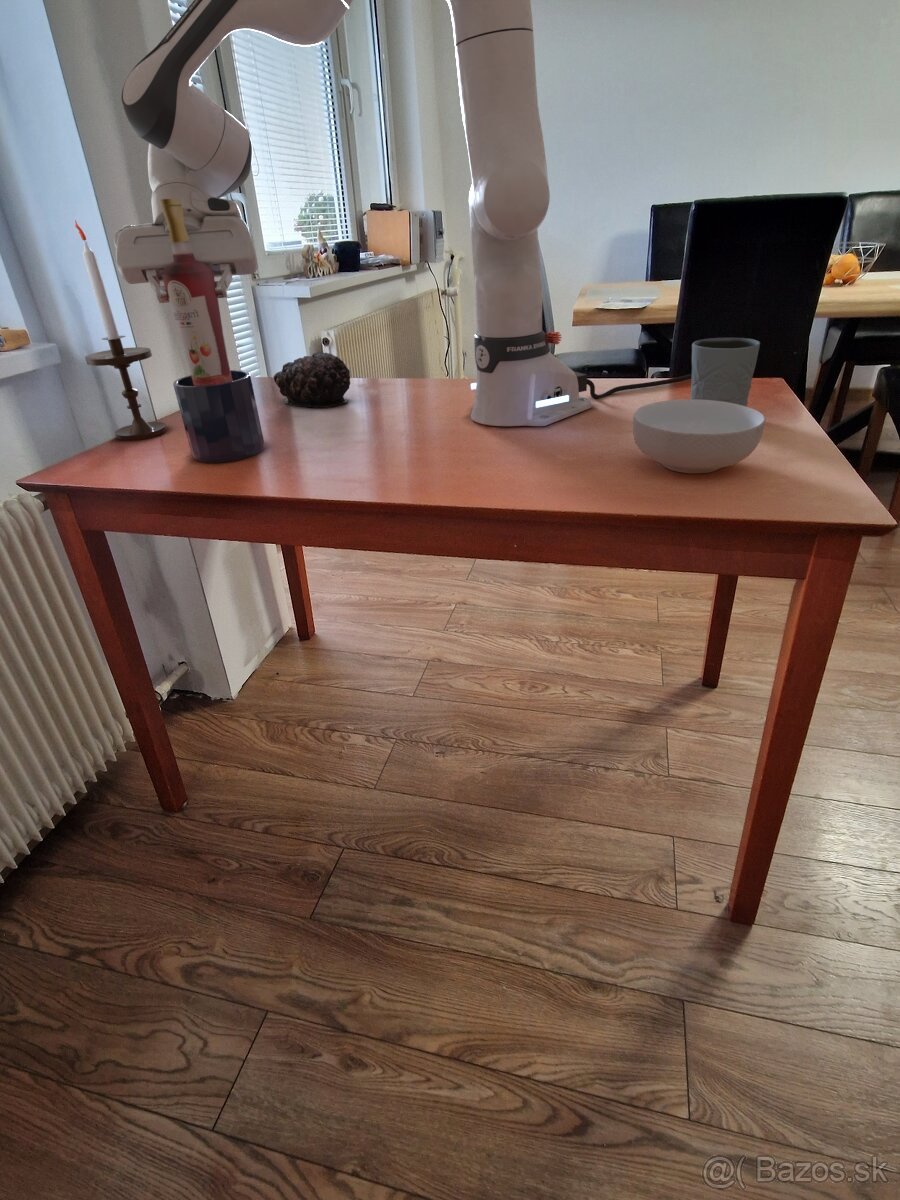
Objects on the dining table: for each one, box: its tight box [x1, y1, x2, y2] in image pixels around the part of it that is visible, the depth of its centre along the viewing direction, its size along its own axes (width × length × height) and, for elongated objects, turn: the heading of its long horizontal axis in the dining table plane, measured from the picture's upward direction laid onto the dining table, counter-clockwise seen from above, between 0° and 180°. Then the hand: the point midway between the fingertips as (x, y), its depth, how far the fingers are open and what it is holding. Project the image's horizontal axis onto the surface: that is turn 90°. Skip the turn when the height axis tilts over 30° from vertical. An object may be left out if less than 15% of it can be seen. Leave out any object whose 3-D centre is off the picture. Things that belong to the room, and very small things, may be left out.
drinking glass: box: [690, 337, 761, 407], centre depth 109 cm, size 10×10×12 cm
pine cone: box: [273, 351, 351, 408], centre depth 135 cm, size 10×18×10 cm, turn 68°
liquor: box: [160, 199, 232, 386], centre depth 101 cm, size 7×7×28 cm
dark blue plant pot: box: [172, 369, 266, 464], centre depth 109 cm, size 12×12×12 cm
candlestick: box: [74, 219, 168, 442], centre depth 117 cm, size 11×11×35 cm
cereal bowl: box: [632, 398, 766, 474], centre depth 91 cm, size 17×17×7 cm
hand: (193, 297), depth 100 cm, fingers closed on liquor, 7 cm apart
